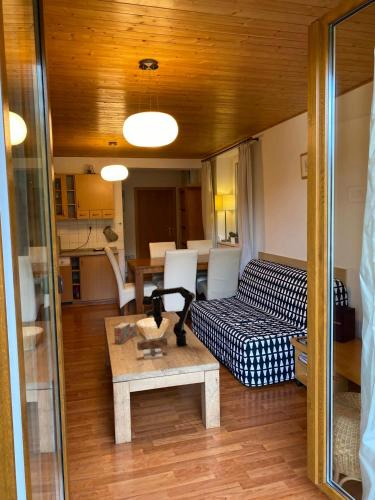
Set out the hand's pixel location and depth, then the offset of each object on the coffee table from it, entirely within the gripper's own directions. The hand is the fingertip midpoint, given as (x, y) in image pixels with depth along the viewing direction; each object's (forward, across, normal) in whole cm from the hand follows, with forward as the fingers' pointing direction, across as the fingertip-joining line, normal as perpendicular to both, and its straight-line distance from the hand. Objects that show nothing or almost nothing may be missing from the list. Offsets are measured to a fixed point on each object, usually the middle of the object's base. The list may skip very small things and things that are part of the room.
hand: (157, 326), depth 288 cm
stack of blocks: (+12, -14, -23) cm, 30 cm away
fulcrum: (+12, +23, -6) cm, 27 cm away
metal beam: (+6, +23, -6) cm, 25 cm away
